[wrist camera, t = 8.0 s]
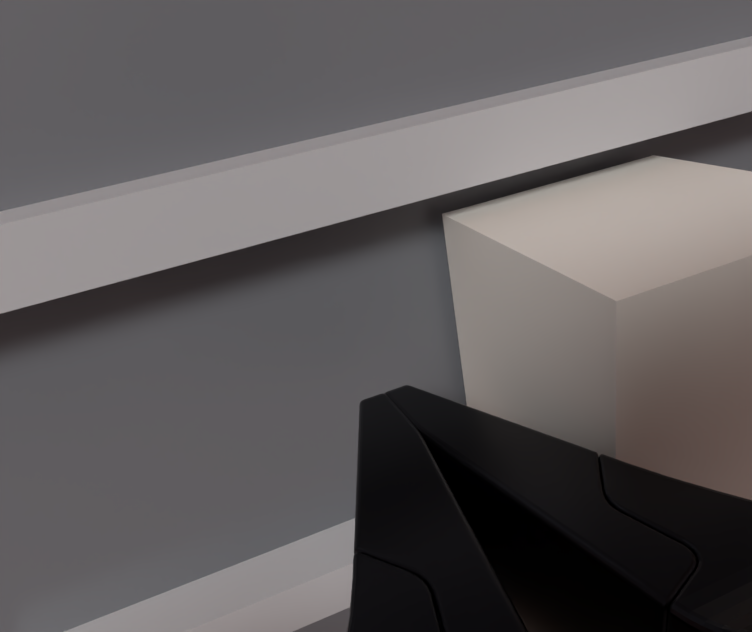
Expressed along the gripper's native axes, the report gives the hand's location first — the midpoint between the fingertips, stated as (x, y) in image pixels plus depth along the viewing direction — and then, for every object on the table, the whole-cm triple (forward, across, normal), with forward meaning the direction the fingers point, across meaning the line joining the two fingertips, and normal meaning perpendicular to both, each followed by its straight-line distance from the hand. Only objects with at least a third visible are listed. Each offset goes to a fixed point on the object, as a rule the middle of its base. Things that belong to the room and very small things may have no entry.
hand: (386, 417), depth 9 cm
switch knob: (+1, -4, 0) cm, 4 cm away
